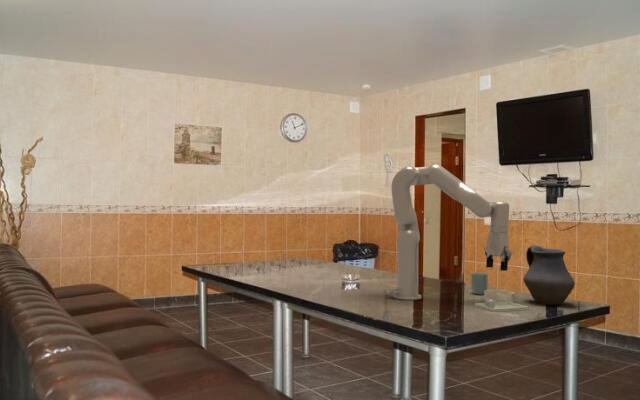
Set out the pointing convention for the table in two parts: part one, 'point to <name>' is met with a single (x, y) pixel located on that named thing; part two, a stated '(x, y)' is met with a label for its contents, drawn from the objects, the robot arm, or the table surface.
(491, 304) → the pebble
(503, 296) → the bowl
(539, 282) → the pitcher
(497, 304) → the tray
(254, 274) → the table surface
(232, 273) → the table surface
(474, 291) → the cup
